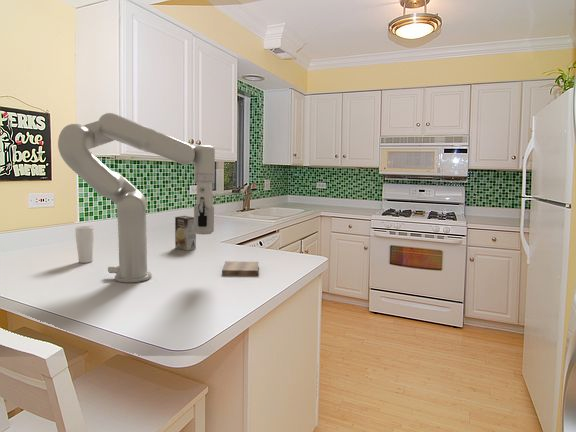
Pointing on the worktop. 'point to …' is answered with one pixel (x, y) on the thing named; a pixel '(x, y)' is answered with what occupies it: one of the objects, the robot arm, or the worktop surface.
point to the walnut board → (240, 268)
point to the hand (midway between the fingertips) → (204, 224)
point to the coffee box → (185, 233)
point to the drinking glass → (85, 243)
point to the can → (210, 221)
